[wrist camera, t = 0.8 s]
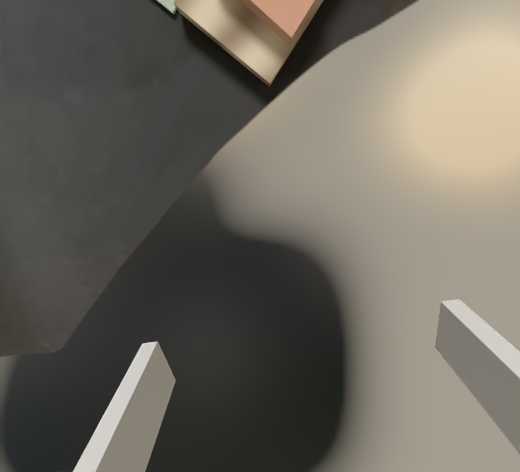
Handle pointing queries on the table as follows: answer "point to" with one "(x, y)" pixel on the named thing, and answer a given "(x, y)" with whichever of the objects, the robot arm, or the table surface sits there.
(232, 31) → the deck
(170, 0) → the mat
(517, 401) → the robot arm
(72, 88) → the table surface
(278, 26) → the block
